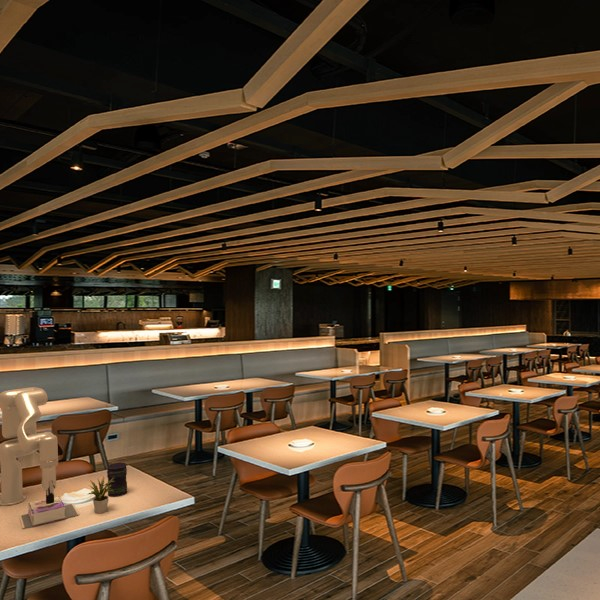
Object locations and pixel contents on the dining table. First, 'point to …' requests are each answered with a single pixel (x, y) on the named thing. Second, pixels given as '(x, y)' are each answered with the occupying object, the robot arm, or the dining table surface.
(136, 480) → the dining table surface
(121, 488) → the rusty oil drum
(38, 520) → the candy box
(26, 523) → the mat
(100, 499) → the house plant
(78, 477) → the dining table surface
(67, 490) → the dining table surface
